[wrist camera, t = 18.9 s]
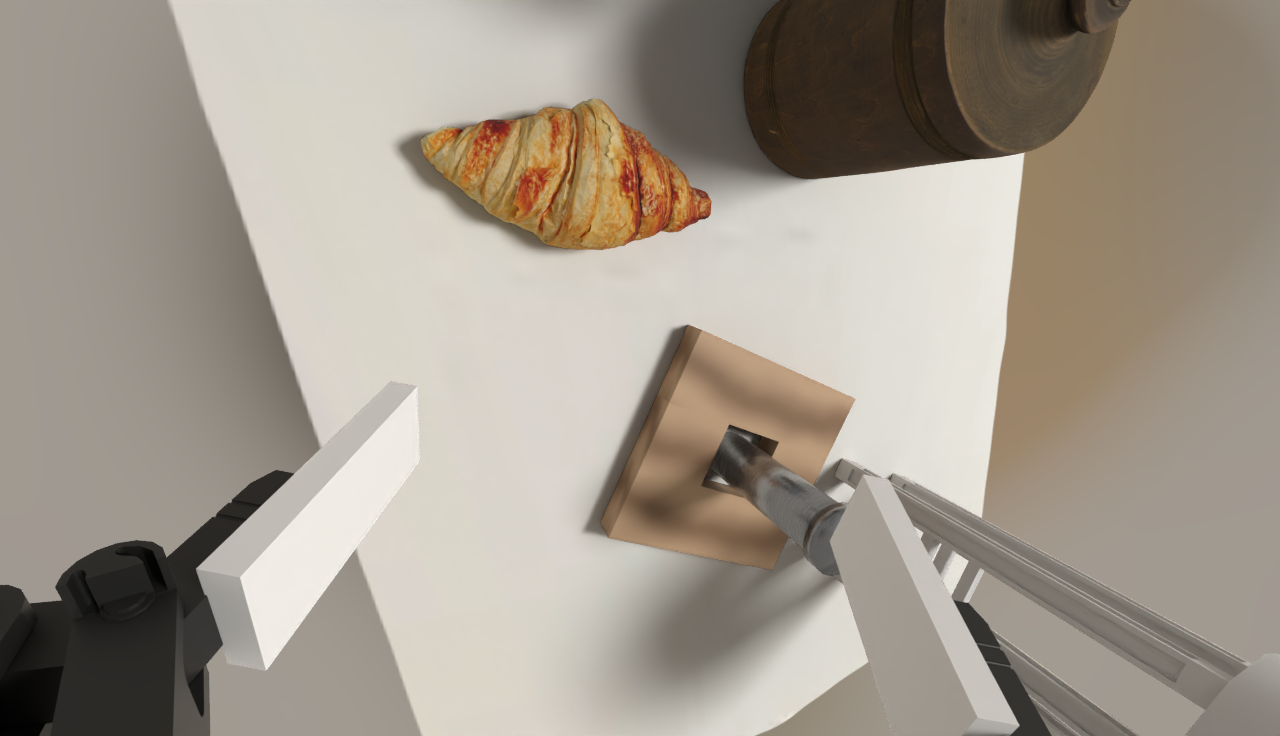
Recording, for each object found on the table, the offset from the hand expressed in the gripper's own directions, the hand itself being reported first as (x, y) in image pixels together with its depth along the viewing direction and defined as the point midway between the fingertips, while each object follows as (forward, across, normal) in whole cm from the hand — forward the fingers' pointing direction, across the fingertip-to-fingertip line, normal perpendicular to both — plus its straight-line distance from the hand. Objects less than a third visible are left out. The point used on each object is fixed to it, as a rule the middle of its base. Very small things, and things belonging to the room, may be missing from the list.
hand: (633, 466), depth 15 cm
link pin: (+30, +10, -20) cm, 37 cm away
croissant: (+29, -8, +3) cm, 30 cm away
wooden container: (+40, +10, +12) cm, 43 cm away
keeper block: (+30, +10, -20) cm, 37 cm away
